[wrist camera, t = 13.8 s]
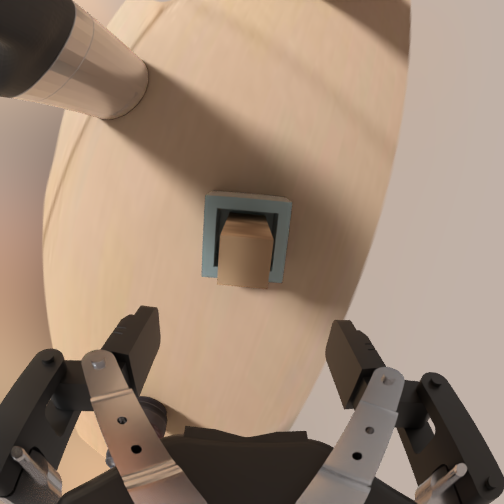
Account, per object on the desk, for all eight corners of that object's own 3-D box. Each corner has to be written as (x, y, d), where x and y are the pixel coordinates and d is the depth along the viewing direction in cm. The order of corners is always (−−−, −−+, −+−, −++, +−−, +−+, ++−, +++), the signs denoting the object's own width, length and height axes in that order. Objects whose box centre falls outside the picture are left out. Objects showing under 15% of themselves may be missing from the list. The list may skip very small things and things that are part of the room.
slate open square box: (208, 259, 34) (201, 276, 29) (212, 190, 31) (205, 195, 26) (276, 265, 34) (281, 282, 29) (284, 196, 32) (292, 202, 26)
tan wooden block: (226, 246, 32) (216, 284, 22) (229, 212, 31) (220, 235, 21) (261, 249, 32) (267, 288, 22) (264, 215, 31) (273, 240, 21)
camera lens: (172, 400, 41) (153, 469, 27) (169, 424, 44) (153, 487, 29) (128, 387, 41) (100, 451, 26) (129, 412, 43) (107, 471, 28)
